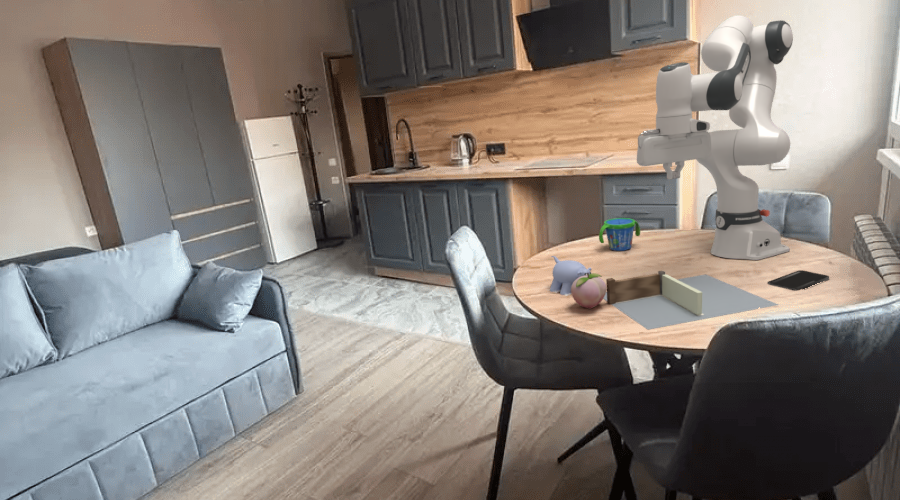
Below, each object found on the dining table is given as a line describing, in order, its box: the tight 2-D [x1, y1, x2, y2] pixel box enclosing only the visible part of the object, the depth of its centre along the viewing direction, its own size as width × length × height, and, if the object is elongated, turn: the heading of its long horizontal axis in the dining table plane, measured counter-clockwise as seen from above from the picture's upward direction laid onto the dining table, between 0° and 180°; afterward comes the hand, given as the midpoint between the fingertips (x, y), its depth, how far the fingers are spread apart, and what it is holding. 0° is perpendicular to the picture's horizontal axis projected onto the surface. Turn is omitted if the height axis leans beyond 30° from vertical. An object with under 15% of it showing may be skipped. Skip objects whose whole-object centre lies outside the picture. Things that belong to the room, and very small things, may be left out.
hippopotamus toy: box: [549, 255, 592, 297], centre depth 142 cm, size 11×15×10 cm
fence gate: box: [662, 273, 702, 315], centre depth 124 cm, size 15×1×6 cm, turn 8°
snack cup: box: [598, 217, 641, 252], centre depth 177 cm, size 16×10×10 cm
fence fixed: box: [605, 270, 666, 305], centre depth 131 cm, size 16×2×7 cm, turn 100°
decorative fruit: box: [571, 272, 607, 309], centre depth 129 cm, size 9×8×10 cm
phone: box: [767, 270, 830, 292], centre depth 131 cm, size 8×1×15 cm
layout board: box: [603, 274, 779, 331], centre depth 128 cm, size 34×26×1 cm
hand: (673, 178), depth 136 cm, fingers closed
